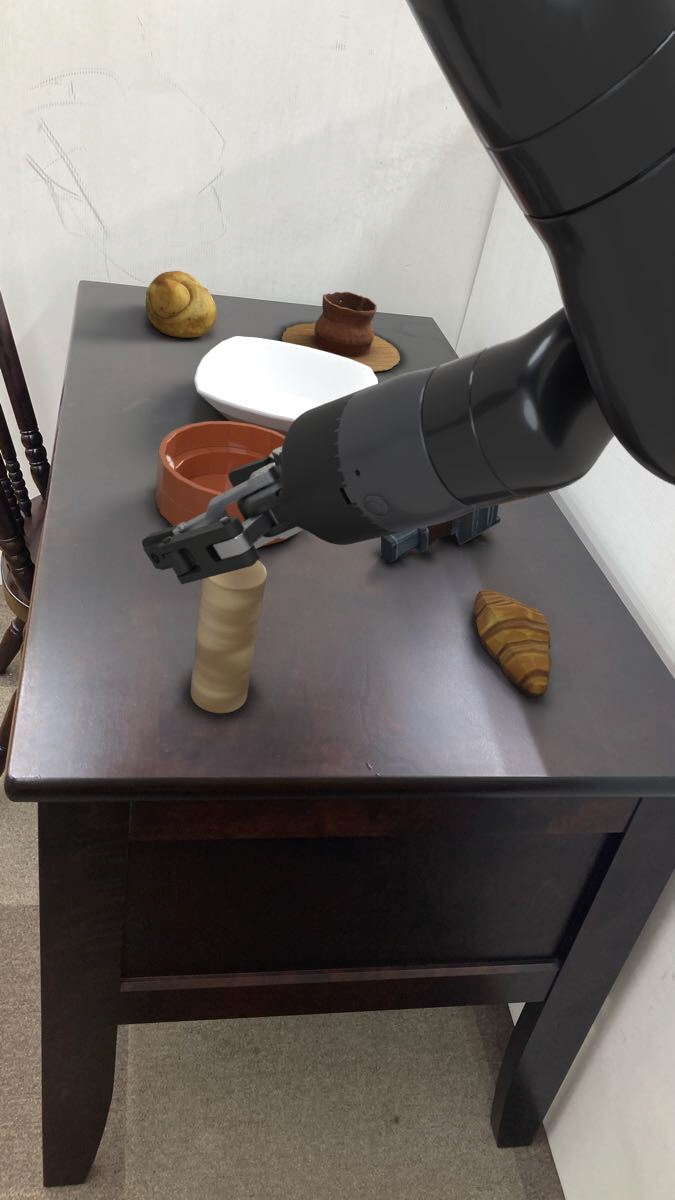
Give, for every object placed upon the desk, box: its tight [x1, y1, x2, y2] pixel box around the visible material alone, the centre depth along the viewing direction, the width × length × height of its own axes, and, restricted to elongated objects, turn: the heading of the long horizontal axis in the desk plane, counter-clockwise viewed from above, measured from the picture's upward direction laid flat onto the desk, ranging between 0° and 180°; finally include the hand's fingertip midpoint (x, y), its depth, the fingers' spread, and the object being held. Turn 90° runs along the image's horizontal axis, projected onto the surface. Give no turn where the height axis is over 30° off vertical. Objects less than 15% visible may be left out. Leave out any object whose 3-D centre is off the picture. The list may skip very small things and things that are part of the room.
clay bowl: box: [155, 420, 292, 547], centre depth 89 cm, size 15×15×6 cm
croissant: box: [473, 588, 552, 699], centre depth 79 cm, size 14×7×5 cm, turn 13°
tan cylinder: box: [190, 560, 268, 714], centre depth 66 cm, size 4×4×12 cm
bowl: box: [193, 335, 379, 436], centre depth 108 cm, size 22×22×5 cm
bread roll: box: [145, 270, 218, 339], centre depth 125 cm, size 13×10×8 cm
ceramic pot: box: [281, 291, 401, 373], centre depth 130 cm, size 18×18×7 cm
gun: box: [380, 504, 502, 564], centre depth 88 cm, size 3×17×15 cm
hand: (196, 518), depth 56 cm, fingers open, 8 cm apart
